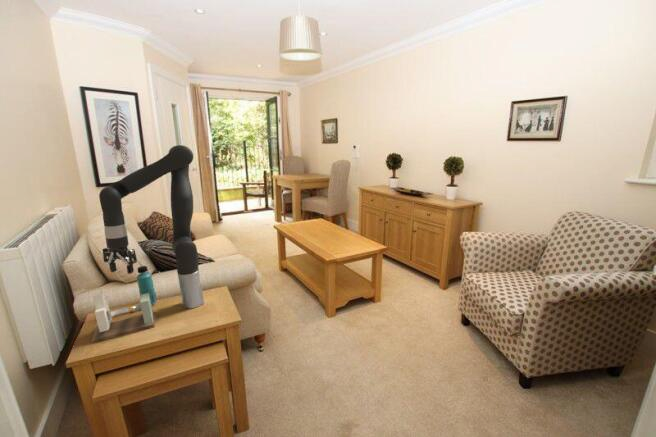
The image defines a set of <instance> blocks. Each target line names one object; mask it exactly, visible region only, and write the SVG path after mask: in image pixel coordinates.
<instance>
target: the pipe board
mask: <svg viewBox="0 0 656 437" xmlns="http://www.w3.org/2000/svg"><path fill="white" fill-rule="evenodd" d="M155 325H156V312H155V311H153V323H149V324H145V323H144V318H143V314H140V315H137V316H132V317H129V318H124V319H121V320H116V321H113V322H112V321H111V324H110V327H109V330H107V331H103V332H100V331H99V327H98V325H96V327H95V329H94V332H93V335H92V338H91V343H92V344H96V343H99V342H103V341H107V340H111V339H114V338H115V339H116V338H119V337H122V336H125V335H130V334H134V333H137V332H138V333H139V332H140V331H144V330H145V331H146V330H149V329H152V328H155V327H156V326H155Z"/></svg>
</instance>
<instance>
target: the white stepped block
mask: <svg viewBox="0 0 656 437" xmlns="http://www.w3.org/2000/svg"><path fill="white" fill-rule="evenodd" d="M92 299H93V303H94V308H95V311H94V316H96V317H95V320H96V319H97V321H96V323H97V326H98V327H99V331H100V332H103V331H107V330H109V327H110V324H111V323H112V319H113V317H110V318H107V314H106V313H107V312H110V311H111V310H110V306H109V302H108V300H106V297H105V291H104V289H102V290H97V291H94V292H93V294H92Z"/></svg>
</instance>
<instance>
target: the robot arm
mask: <svg viewBox="0 0 656 437" xmlns="http://www.w3.org/2000/svg"><path fill="white" fill-rule="evenodd" d="M193 161H194V153H193V151H192V150H191V148H189V147H188V146H186V145H179V144H178V145H174V146H172V147H171V148H170V149H169V150H168V153H167V154H165V155H164V156H163V157H161V158H160V159H158V160H156V161H155V162H152V163H151V164H148V165H146V166H143V167H141V168H139V169H137V170H135V171H133V172H131V173H130V174H127V175H126V176H124V177H123V178H121V179H119V180H117V181H115V182H113V183H111V184H109V185H107V186H105V187H103V188H102V189H101V190H100V192H99V196H98V197H99V198H98V199H99V202H100V207H101V211H102V218H103V220H102V222H103V226H104V237H105V242H106V247H105V248H103V249H102V255H103V256H102V257H103V262H104V263H107V264H108V266H109V270H110V272H111V273H115V272H117V265H116V261H117V260H120V261H122V262H123V263H124V264H126V270H127V271H126V272H127V274H128V275H130V274H132V273H134V271H135V269H134V264H136V263H138V262H137V261H138V259H137V255H136V254H137V253H136V249H134V248H133V249H129V247H128V246H129V237H128V229H127V226H126V222H125V215H124V212H123V206H122V203H123V202H122V199H124V198H125V197H127V196H129V195H130V194H133V193H136V192H138V191H139V190H141V189H143V188H145V187H146V186H148V185H151V183H153V182H155V181H157V180H159V179H160V178H162V177H163V176H165V175H167V174H169V173H170V178H171V182H170V209H171V210H170V211H171V219H172V227H173V230H172V242H171V243H172V245H171V247H172V252H173V253H174V254H175V255H174V256H175V259H176V260H175V261H176V265H177V266H176V273H177V277H178V283H179V289H180V294H181V295H180V297H181V302H182V307H183V308H184V309H195V308H197V307H200V306H202V305H204V304H205V301H204V295H203V293H204V292H203V287H202V282H201V276H200V271H199V264H200V263H199V256H198V255H199V254H198V249H197V245H196V243H195V242H193V240H192V232H191V222H192V219H193V214H194V195H193V190H192V185H191V182H190V175H189V173H190V165H191V163H192V162H193Z"/></svg>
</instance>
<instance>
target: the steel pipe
mask: <svg viewBox="0 0 656 437" xmlns="http://www.w3.org/2000/svg"><path fill="white" fill-rule="evenodd" d="M138 311H142V309H141V304H140V303H139V304H135V305H129V306H128V307H124V308H120V309H113V310H110V312H107V313H106V314H107V318H110V317H111V318H114V317H118V316H122V315H126V314H132V313H134V312H138ZM94 316H95V320H96V322H97V319H96V315H94Z"/></svg>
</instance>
